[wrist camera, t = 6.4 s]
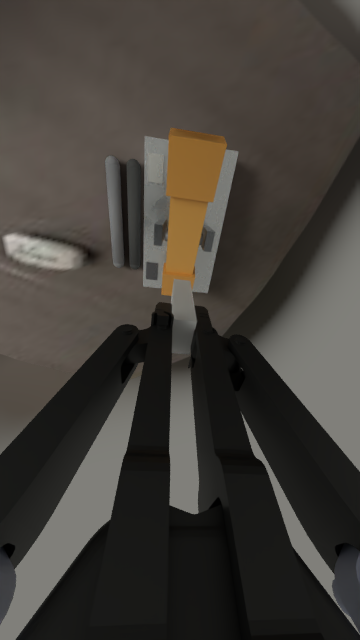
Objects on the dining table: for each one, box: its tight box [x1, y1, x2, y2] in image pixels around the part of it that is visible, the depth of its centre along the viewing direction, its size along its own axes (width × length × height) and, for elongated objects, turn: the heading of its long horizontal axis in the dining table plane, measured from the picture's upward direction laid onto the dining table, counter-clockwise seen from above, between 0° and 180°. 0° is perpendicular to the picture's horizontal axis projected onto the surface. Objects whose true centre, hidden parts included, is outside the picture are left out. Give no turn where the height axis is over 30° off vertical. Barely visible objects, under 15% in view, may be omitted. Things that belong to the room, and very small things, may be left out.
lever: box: [162, 128, 227, 296], centre depth 24 cm, size 19×5×3 cm, turn 173°
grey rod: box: [105, 156, 124, 268], centre depth 30 cm, size 16×2×2 cm, turn 173°
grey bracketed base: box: [143, 136, 239, 293], centre depth 27 cm, size 20×12×11 cm, turn 173°
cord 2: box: [127, 159, 141, 269], centre depth 31 cm, size 16×2×2 cm, turn 173°
